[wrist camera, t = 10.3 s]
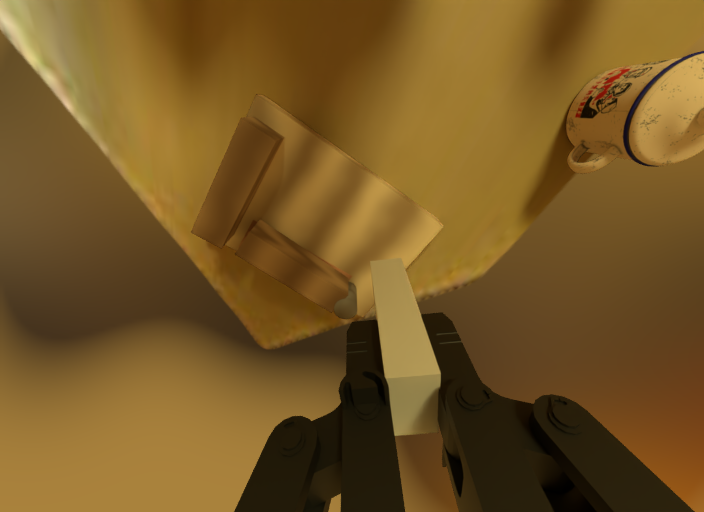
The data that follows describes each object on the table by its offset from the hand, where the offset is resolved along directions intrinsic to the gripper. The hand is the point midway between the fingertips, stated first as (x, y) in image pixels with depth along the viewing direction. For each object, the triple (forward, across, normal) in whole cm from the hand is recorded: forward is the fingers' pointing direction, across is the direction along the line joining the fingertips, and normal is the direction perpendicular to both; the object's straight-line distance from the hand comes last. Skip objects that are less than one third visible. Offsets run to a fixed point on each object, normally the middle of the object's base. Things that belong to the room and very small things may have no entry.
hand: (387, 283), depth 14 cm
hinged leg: (+21, -9, -10) cm, 25 cm away
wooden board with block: (+24, -6, -5) cm, 26 cm away
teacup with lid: (+25, +27, +3) cm, 37 cm away
